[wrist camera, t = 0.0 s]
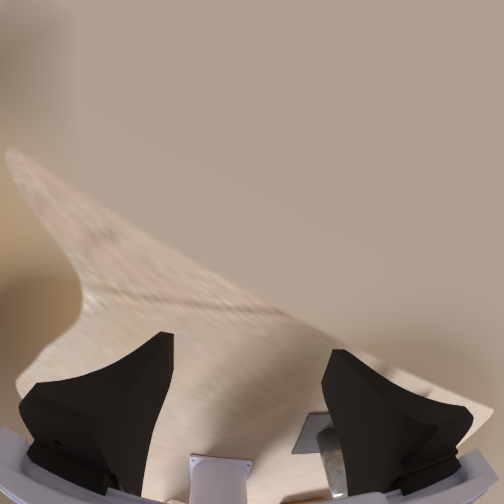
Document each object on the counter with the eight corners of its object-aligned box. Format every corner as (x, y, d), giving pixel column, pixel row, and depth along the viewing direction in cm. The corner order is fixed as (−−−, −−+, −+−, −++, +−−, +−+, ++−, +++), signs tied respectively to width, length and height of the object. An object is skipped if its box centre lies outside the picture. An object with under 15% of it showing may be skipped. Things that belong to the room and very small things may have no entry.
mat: (342, 448, 27) (342, 450, 27) (291, 452, 27) (291, 454, 26) (365, 409, 25) (366, 411, 25) (308, 413, 25) (309, 415, 24)
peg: (335, 441, 26) (354, 496, 17) (312, 443, 26) (328, 501, 17) (343, 426, 25) (366, 484, 17) (320, 428, 25) (339, 490, 16)
